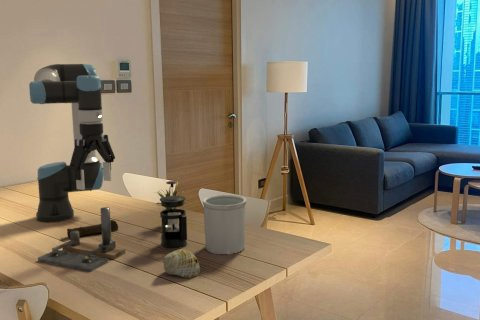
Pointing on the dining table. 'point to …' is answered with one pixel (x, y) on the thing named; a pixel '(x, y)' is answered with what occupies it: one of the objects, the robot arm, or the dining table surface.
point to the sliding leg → (104, 234)
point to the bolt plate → (73, 260)
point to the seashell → (181, 264)
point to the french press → (173, 233)
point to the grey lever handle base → (87, 247)
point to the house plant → (170, 221)
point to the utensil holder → (224, 223)
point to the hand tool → (92, 229)
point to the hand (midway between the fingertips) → (94, 184)
